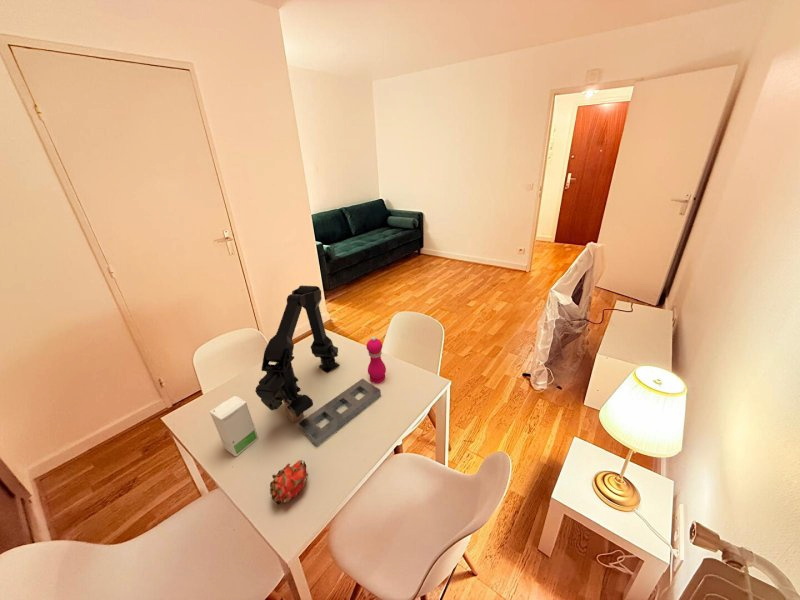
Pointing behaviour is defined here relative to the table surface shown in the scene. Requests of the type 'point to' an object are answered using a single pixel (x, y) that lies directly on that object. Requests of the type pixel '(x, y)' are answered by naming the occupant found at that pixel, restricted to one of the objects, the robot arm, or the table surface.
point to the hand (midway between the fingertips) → (295, 412)
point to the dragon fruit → (288, 482)
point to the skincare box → (234, 425)
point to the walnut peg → (290, 413)
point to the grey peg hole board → (334, 416)
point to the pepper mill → (376, 361)
